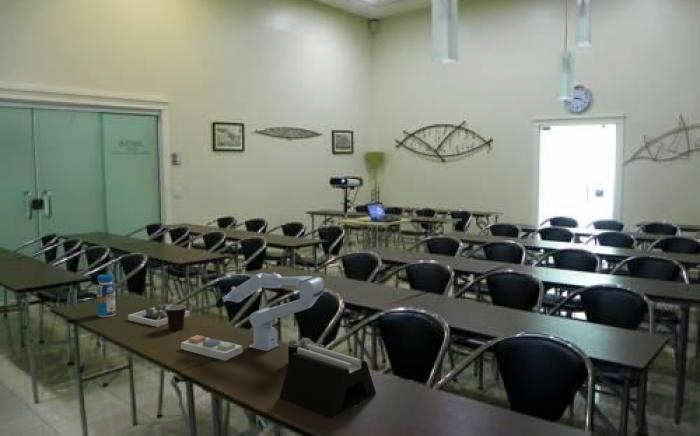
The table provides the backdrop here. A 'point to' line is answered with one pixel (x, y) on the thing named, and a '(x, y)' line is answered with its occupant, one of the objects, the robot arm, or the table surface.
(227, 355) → the keypad
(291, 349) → the camera
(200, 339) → the terracotta key
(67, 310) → the table surface
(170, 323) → the coffee mug
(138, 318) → the display tray
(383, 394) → the table surface
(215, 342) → the slate key
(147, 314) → the molecule model
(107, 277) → the beverage bottle
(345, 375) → the device stand
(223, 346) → the sage key
